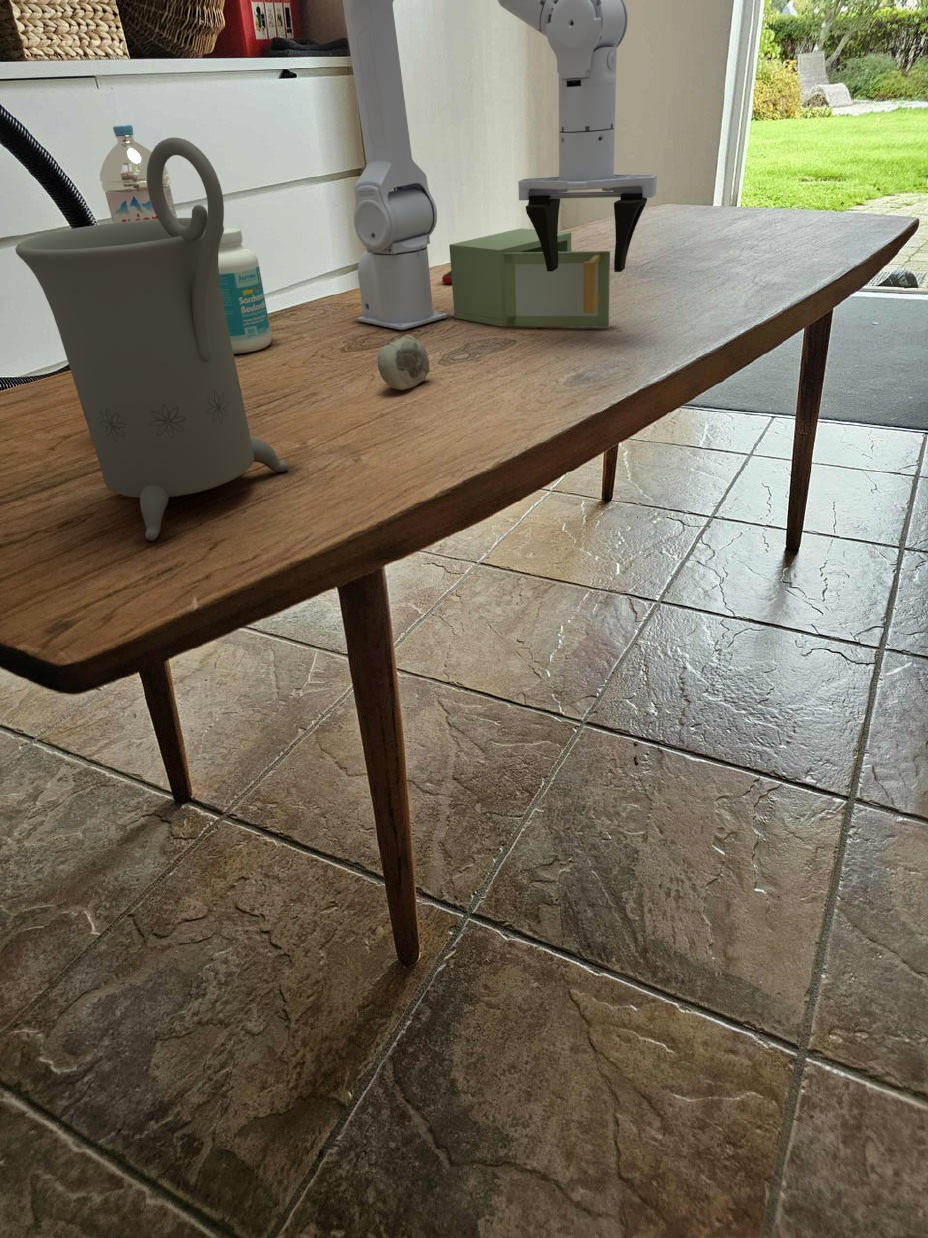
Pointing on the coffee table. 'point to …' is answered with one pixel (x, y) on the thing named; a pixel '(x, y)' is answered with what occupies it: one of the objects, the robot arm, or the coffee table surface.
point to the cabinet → (489, 272)
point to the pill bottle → (242, 294)
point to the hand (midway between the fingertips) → (585, 269)
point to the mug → (152, 344)
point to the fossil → (403, 362)
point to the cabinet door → (557, 289)
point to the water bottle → (130, 179)
